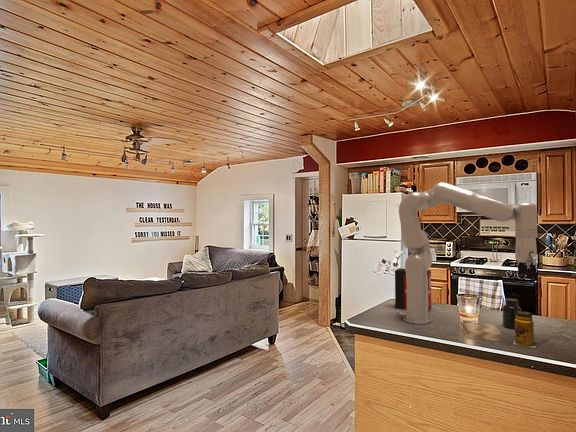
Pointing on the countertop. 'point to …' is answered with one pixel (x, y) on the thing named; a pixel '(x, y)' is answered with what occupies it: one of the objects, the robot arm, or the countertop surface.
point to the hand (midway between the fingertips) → (527, 276)
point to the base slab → (482, 331)
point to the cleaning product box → (402, 289)
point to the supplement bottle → (510, 313)
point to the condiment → (524, 330)
